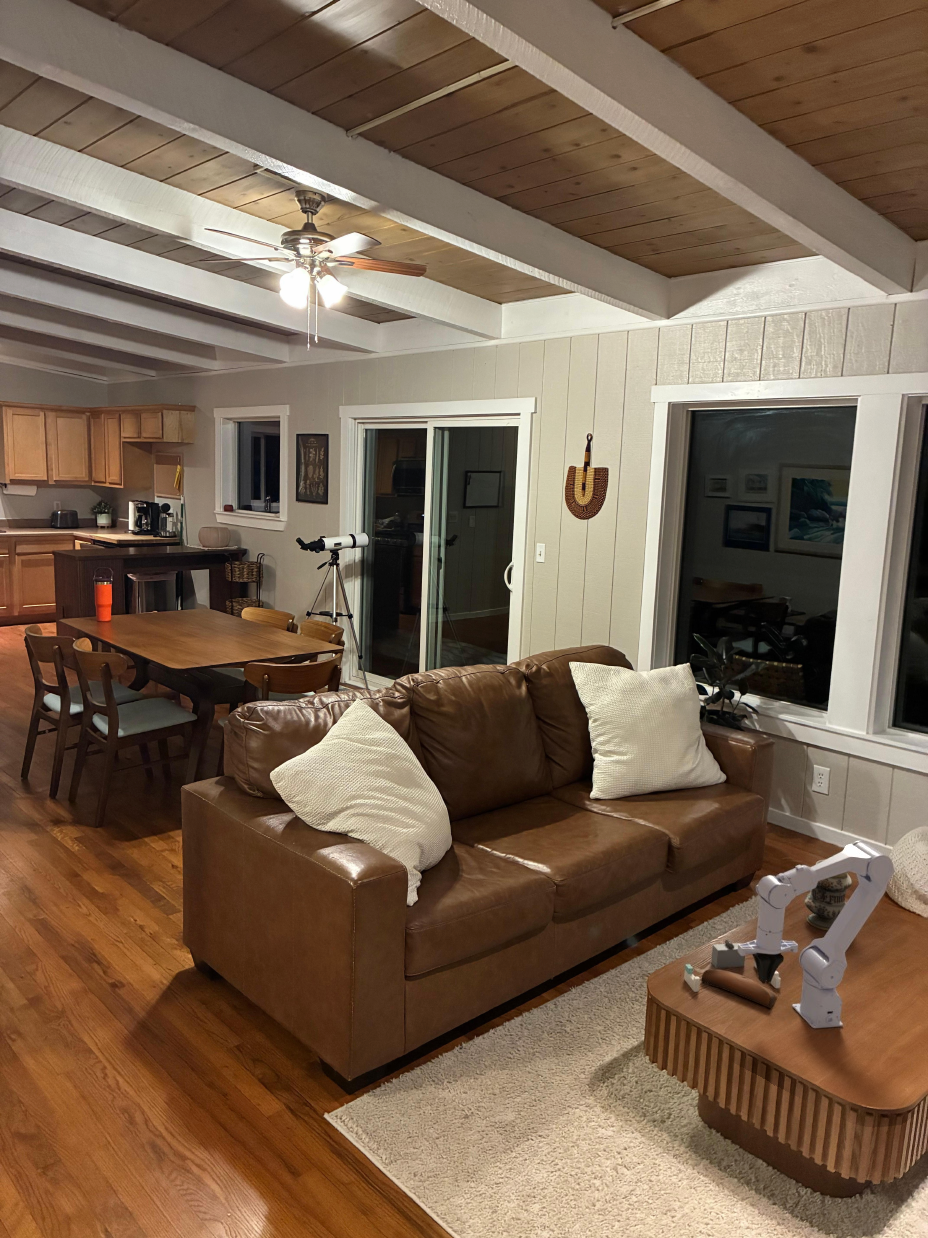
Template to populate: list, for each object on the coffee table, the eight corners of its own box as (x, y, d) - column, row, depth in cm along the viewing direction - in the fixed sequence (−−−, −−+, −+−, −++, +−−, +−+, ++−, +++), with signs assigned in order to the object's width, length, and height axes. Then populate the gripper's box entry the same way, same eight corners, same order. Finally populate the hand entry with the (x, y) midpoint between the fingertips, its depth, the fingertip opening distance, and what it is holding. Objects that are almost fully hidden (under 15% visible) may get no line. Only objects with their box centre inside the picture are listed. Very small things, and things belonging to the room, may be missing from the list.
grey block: (744, 966, 242) (746, 944, 241) (716, 968, 240) (718, 946, 239) (738, 960, 245) (740, 939, 244) (711, 962, 243) (713, 940, 242)
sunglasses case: (781, 995, 228) (779, 980, 225) (771, 1019, 224) (768, 1003, 221) (713, 969, 239) (710, 954, 236) (703, 991, 235) (699, 976, 232)
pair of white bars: (779, 988, 232) (781, 973, 231) (696, 994, 227) (697, 979, 227) (757, 965, 242) (759, 951, 242) (677, 970, 238) (678, 956, 237)
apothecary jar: (842, 937, 260) (849, 878, 257) (798, 925, 266) (805, 867, 263) (849, 921, 270) (856, 863, 268) (807, 909, 276) (813, 853, 274)
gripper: (788, 917, 220) (783, 970, 222) (733, 920, 217) (728, 973, 219) (805, 932, 213) (799, 985, 215) (748, 935, 210) (742, 990, 212)
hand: (764, 980), depth 216 cm, fingers closed
